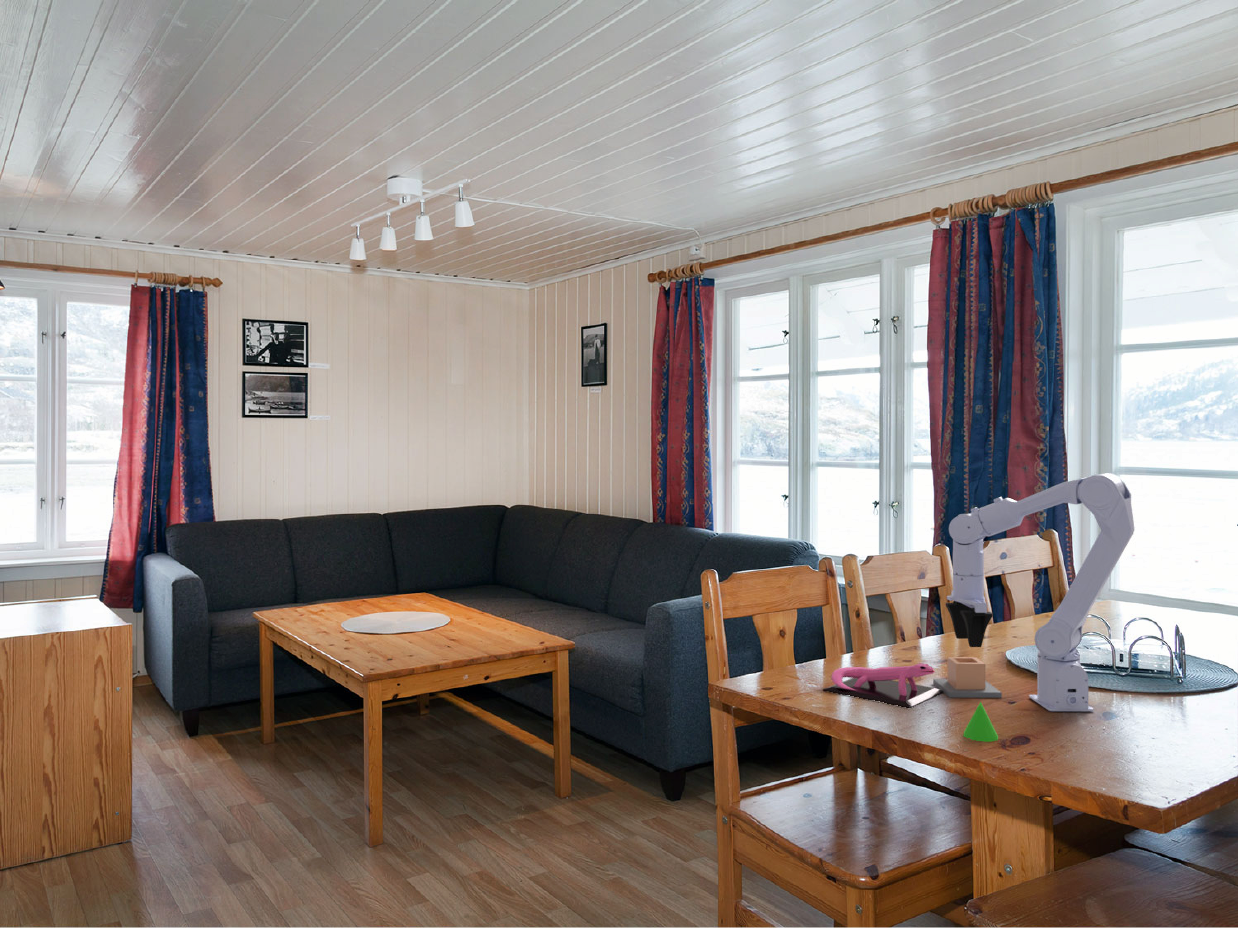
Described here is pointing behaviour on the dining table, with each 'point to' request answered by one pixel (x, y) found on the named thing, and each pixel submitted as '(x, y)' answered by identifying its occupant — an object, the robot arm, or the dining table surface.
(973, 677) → the collar
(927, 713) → the dining table surface
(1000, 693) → the post plate
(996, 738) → the green cone
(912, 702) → the lizard figurine
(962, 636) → the robot arm
